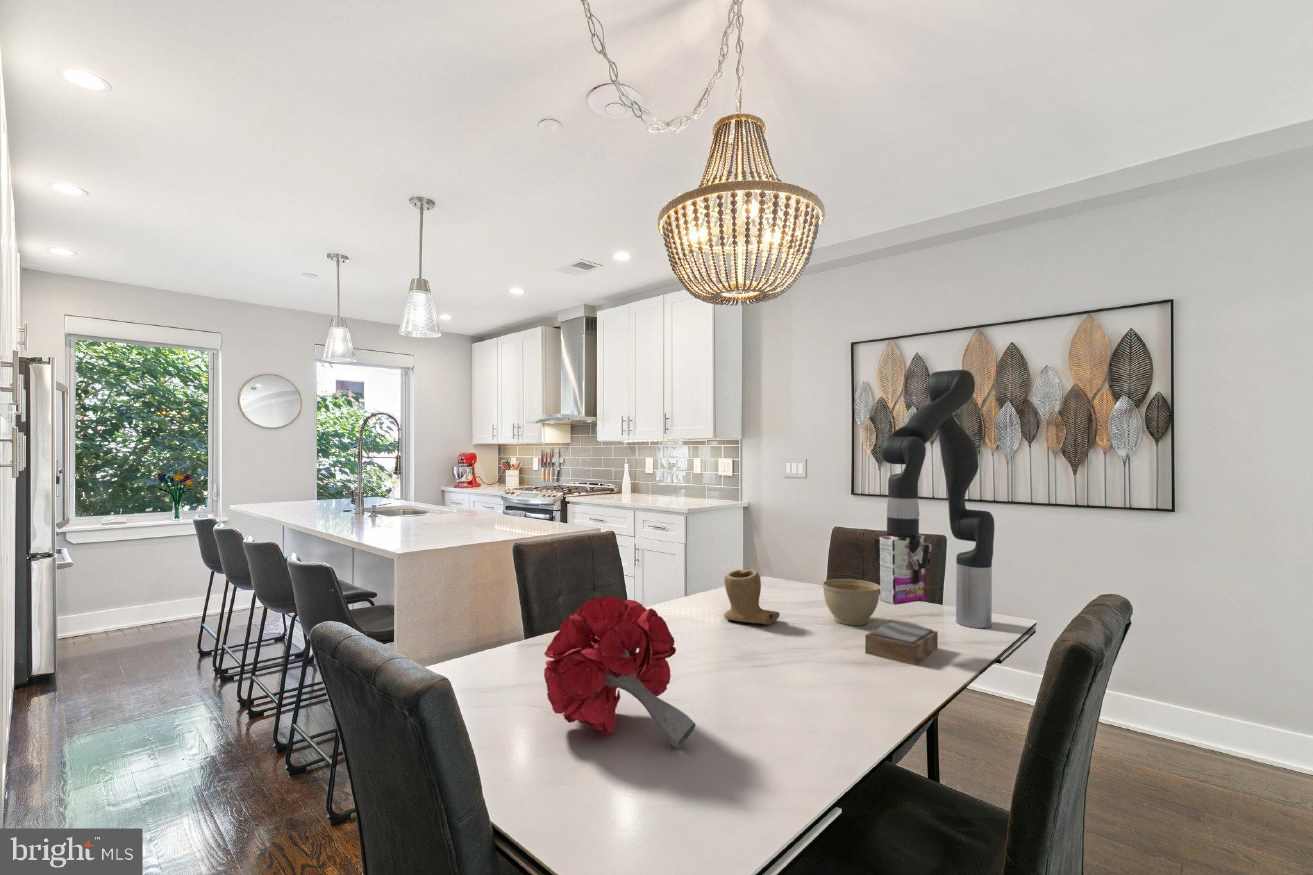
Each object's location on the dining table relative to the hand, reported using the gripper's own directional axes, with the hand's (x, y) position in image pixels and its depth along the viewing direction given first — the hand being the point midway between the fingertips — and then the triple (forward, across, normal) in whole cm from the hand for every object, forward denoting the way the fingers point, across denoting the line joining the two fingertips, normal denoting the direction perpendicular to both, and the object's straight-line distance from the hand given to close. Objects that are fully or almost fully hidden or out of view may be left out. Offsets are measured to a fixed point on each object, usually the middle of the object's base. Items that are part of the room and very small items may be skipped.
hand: (902, 581), depth 154 cm
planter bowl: (+18, -21, +16) cm, 32 cm away
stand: (+17, 0, 0) cm, 17 cm away
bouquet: (+17, -21, -79) cm, 84 cm away
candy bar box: (+5, 0, 0) cm, 5 cm away
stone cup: (+18, -42, -6) cm, 46 cm away
